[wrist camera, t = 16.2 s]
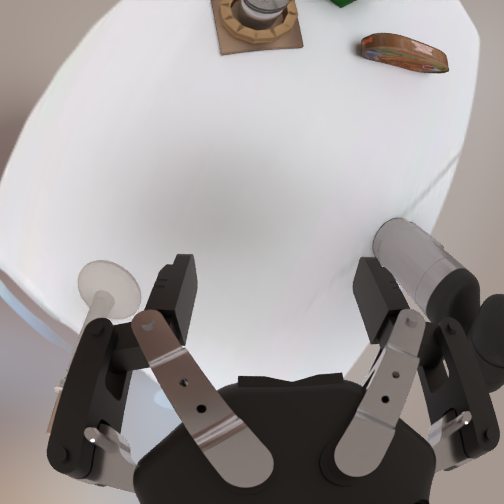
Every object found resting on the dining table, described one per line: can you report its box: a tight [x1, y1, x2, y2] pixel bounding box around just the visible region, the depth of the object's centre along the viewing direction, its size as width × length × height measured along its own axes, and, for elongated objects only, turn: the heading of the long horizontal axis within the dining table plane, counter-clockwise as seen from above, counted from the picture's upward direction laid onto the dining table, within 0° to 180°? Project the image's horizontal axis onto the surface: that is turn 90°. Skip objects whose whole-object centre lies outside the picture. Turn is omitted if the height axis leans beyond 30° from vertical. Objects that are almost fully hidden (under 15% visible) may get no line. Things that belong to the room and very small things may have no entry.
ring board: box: [211, 0, 303, 55], centre depth 24 cm, size 11×11×4 cm
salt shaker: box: [238, 0, 291, 31], centre depth 21 cm, size 5×5×9 cm
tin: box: [361, 33, 449, 73], centre depth 26 cm, size 15×3×8 cm, turn 93°
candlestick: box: [47, 261, 141, 436], centre depth 31 cm, size 13×13×30 cm
